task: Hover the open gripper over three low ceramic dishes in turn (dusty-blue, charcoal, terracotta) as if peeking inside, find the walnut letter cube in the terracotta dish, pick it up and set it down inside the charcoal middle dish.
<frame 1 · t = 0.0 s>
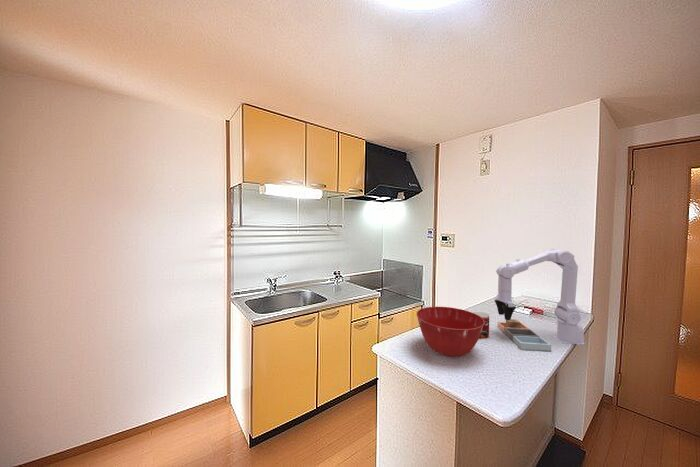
hand: (504, 317, 131), 10 cm above the countertop, fingers open, 7 cm apart
dish terracotta: (513, 330, 139), on the countertop
dish charcoal: (521, 338, 131), on the countertop
letter cube: (513, 325, 139), in the dish terracotta
canned food: (480, 336, 133), on the countertop
mixing bowl: (448, 350, 118), on the countertop
dish blue: (531, 346, 122), on the countertop
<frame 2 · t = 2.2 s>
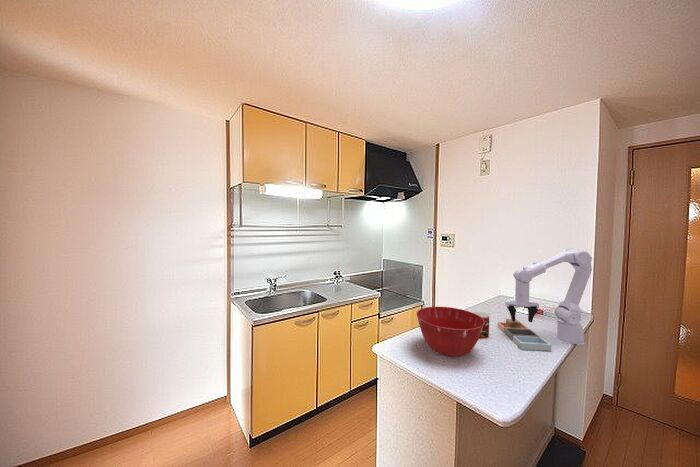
hand: (521, 321, 130), 8 cm above the countertop, fingers open, 7 cm apart
nothing on the countertop moved.
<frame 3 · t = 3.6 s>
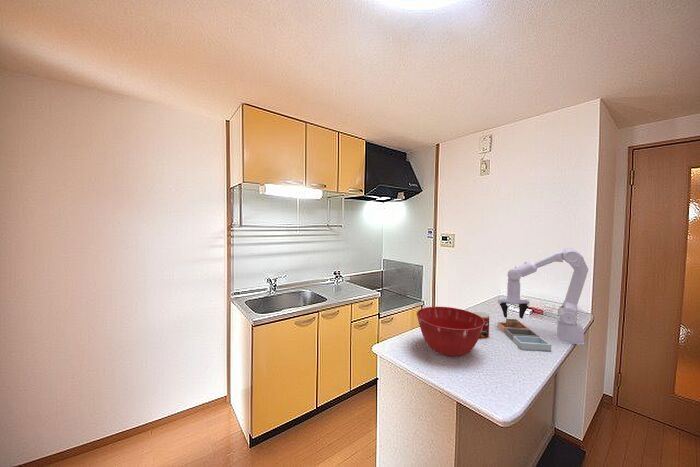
hand: (513, 317, 139), 7 cm above the countertop, fingers open, 7 cm apart
nothing on the countertop moved.
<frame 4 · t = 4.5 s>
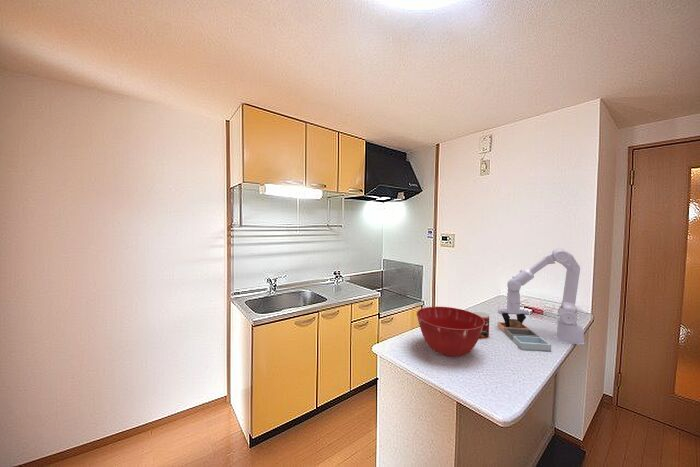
hand: (513, 327, 139), 2 cm above the countertop, fingers closed on letter cube, 5 cm apart
letter cube: (513, 325, 139), in the dish terracotta, touching gripper
everything else where it was.
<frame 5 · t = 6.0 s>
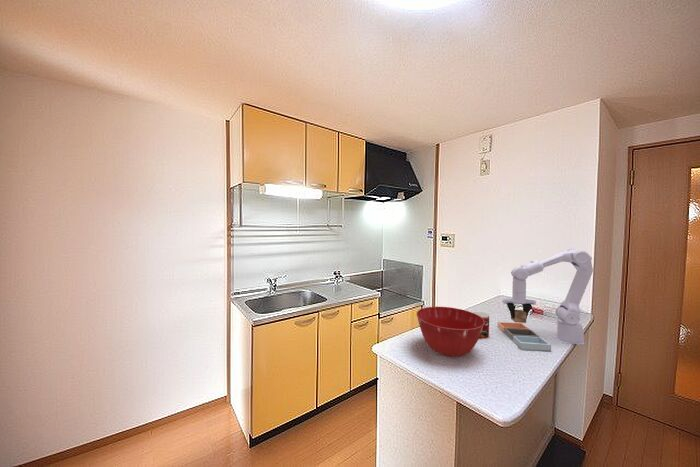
hand: (518, 318, 133), 9 cm above the countertop, fingers closed on letter cube, 5 cm apart
letter cube: (518, 315, 134), point 10 cm above the countertop, touching gripper
everything else where it was.
when the fingers open (3 cm above the countertop, at t = 7.8 s): letter cube drops 1 cm, resting on dish charcoal.
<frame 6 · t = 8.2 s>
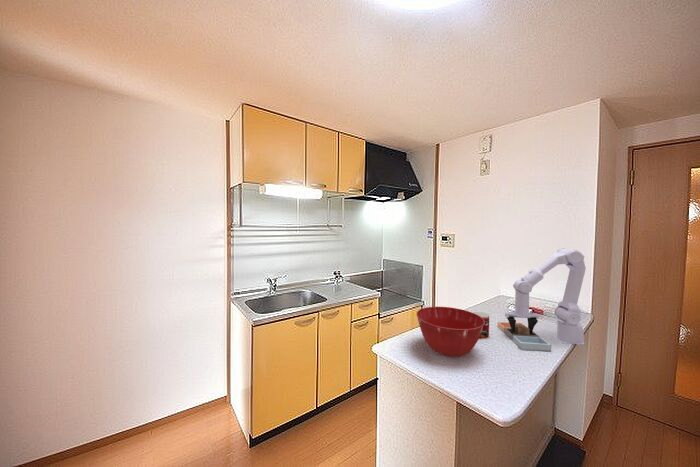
hand: (521, 332, 130), 3 cm above the countertop, fingers open, 7 cm apart
letter cube: (521, 331, 131), in the dish charcoal
everything else where it was.
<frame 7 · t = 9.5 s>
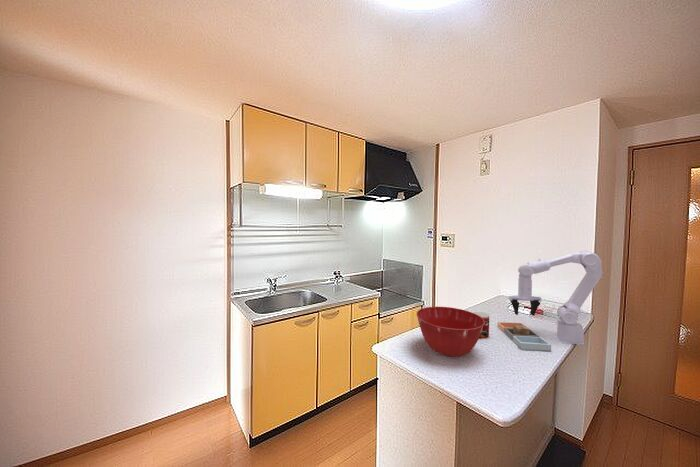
hand: (524, 314, 136), 10 cm above the countertop, fingers open, 7 cm apart
nothing on the countertop moved.
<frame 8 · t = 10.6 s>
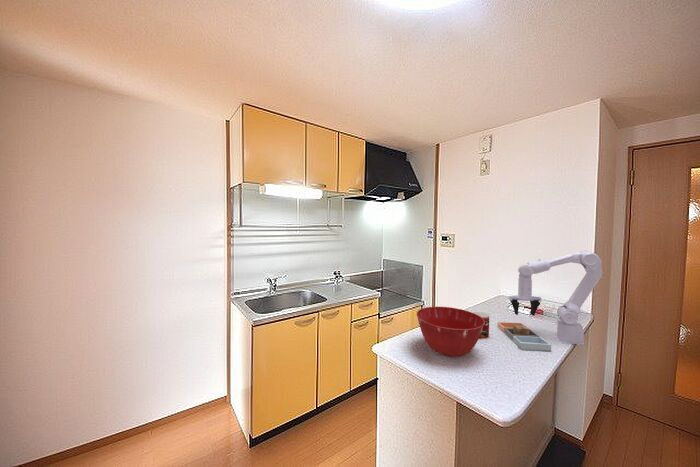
hand: (524, 314, 136), 10 cm above the countertop, fingers open, 7 cm apart
nothing on the countertop moved.
at the end: letter cube inside the target area on the dish charcoal (0.3 cm from its centre), point 3.0 cm above the dish charcoal's base; letter cube tilted 0°; the gripper is holding nothing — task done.
